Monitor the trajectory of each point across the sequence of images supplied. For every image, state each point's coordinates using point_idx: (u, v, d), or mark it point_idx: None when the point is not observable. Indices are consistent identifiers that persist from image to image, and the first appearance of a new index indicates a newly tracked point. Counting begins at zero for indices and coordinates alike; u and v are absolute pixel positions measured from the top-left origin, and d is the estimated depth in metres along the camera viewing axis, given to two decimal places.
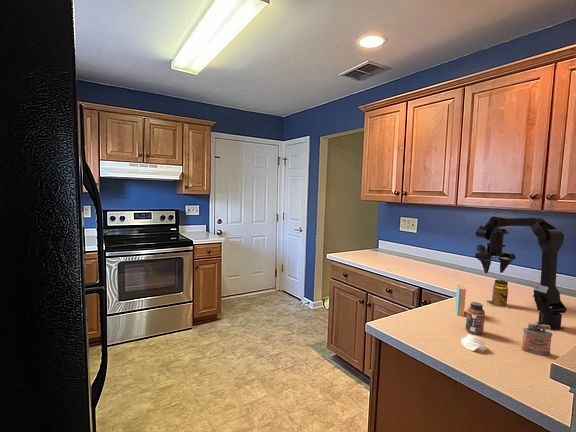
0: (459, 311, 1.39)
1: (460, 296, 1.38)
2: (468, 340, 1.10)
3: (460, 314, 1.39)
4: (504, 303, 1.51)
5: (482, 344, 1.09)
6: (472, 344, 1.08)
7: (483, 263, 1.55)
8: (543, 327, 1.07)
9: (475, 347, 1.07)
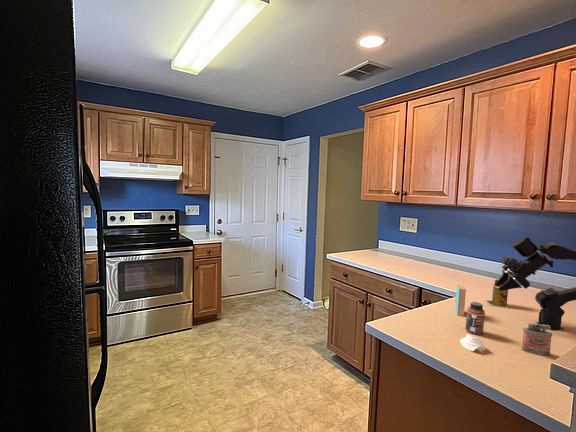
0: (459, 311, 1.39)
1: (460, 296, 1.38)
2: (467, 340, 1.10)
3: (460, 314, 1.39)
4: (504, 303, 1.51)
5: (481, 344, 1.08)
6: (471, 344, 1.08)
7: (509, 282, 1.30)
8: (543, 327, 1.07)
9: (474, 347, 1.07)
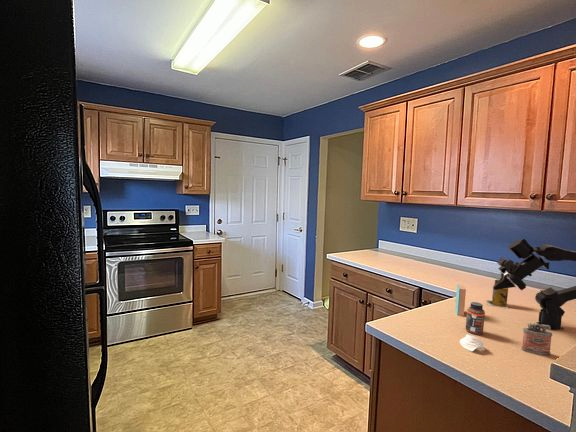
0: (459, 311, 1.39)
1: (460, 296, 1.38)
2: (467, 340, 1.10)
3: (460, 314, 1.39)
4: (504, 303, 1.51)
5: (481, 344, 1.08)
6: (471, 344, 1.08)
7: (503, 282, 1.34)
8: (543, 327, 1.07)
9: (474, 347, 1.07)
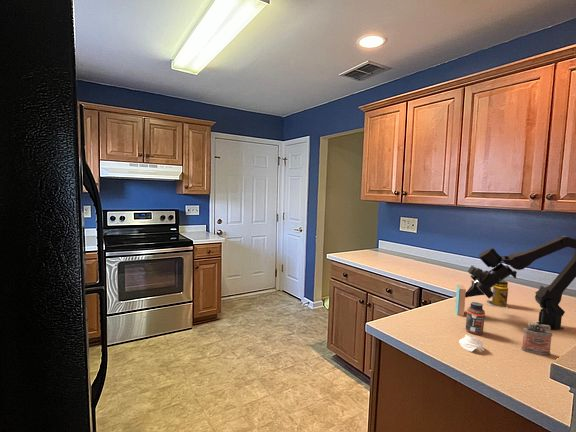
0: (459, 311, 1.39)
1: (460, 296, 1.38)
2: (466, 341, 1.10)
3: (460, 314, 1.39)
4: (504, 303, 1.51)
5: (480, 345, 1.08)
6: (470, 345, 1.08)
7: (473, 290, 1.38)
8: (543, 327, 1.07)
9: (473, 348, 1.07)
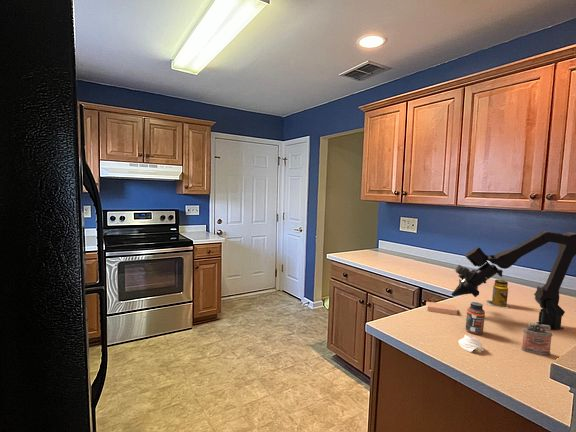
0: (452, 313, 1.40)
1: (435, 311, 1.42)
2: (465, 341, 1.10)
3: (455, 313, 1.40)
4: (504, 303, 1.51)
5: (480, 345, 1.08)
6: (469, 345, 1.08)
7: (460, 288, 1.40)
8: (543, 327, 1.07)
9: (472, 348, 1.07)
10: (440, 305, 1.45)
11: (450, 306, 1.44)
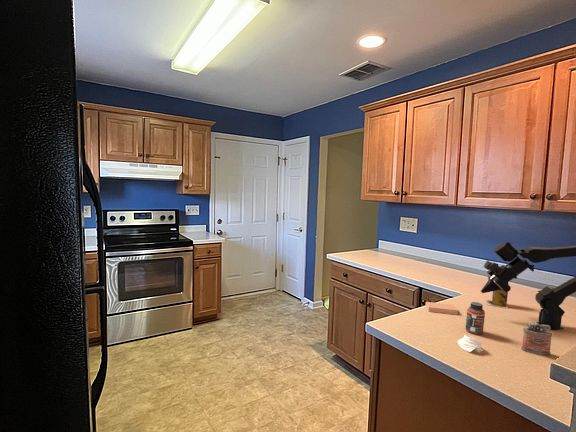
0: (453, 313, 1.40)
1: None
2: (465, 341, 1.09)
3: (456, 313, 1.40)
4: (504, 303, 1.51)
5: (479, 345, 1.08)
6: (469, 345, 1.07)
7: (490, 285, 1.36)
8: (543, 327, 1.07)
9: (472, 348, 1.07)
10: (440, 305, 1.45)
11: (450, 306, 1.44)
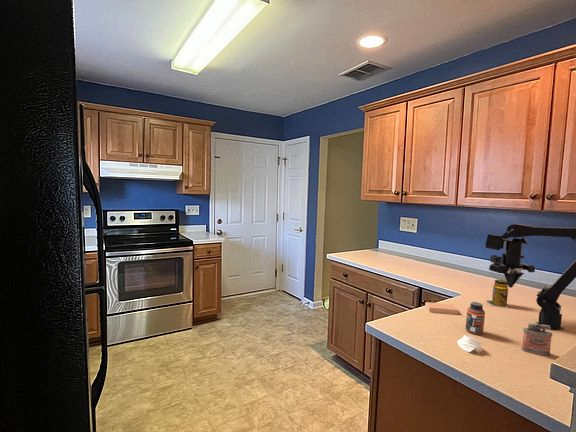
0: (453, 313, 1.40)
1: (437, 312, 1.42)
2: (464, 341, 1.09)
3: (456, 312, 1.40)
4: (504, 303, 1.51)
5: (478, 345, 1.08)
6: (468, 345, 1.07)
7: (507, 276, 1.39)
8: (543, 327, 1.07)
9: (471, 348, 1.06)
10: (440, 305, 1.45)
11: (449, 306, 1.45)
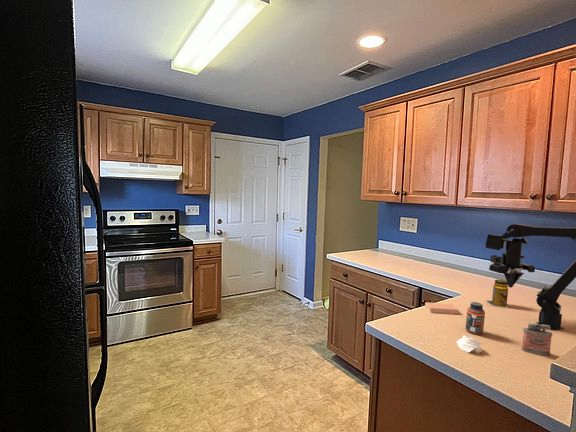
0: (453, 313, 1.41)
1: (438, 312, 1.41)
2: (464, 341, 1.09)
3: (457, 312, 1.41)
4: (504, 303, 1.51)
5: (478, 345, 1.07)
6: (468, 345, 1.07)
7: (507, 276, 1.39)
8: (543, 327, 1.07)
9: (470, 348, 1.06)
10: (440, 305, 1.45)
11: (449, 305, 1.45)
